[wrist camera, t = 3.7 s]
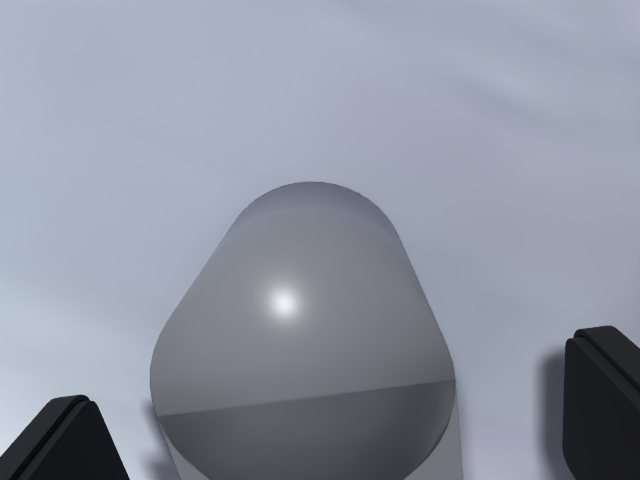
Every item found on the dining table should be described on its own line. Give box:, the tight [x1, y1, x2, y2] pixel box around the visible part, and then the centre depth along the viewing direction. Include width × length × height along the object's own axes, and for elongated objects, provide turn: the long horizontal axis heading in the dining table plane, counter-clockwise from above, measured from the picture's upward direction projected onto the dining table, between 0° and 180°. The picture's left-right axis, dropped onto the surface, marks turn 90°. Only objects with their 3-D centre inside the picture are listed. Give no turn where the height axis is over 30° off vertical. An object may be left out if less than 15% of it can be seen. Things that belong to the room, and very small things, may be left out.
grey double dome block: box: [150, 182, 463, 480], centre depth 9 cm, size 4×11×4 cm, turn 10°
